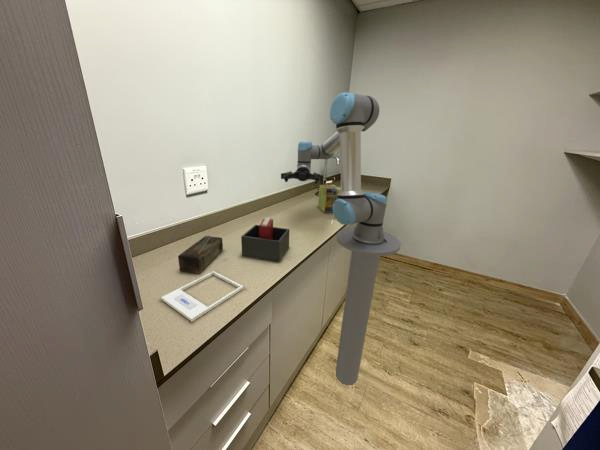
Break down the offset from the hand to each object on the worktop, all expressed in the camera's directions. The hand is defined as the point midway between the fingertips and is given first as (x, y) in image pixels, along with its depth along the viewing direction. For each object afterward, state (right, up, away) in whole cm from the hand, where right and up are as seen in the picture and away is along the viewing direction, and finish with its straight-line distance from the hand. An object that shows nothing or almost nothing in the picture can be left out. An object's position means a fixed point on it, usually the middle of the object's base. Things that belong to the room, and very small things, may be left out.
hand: (301, 179), depth 108 cm
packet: (-15, -31, -7) cm, 35 cm away
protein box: (+19, -10, +54) cm, 58 cm away
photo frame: (-30, -41, -35) cm, 62 cm away
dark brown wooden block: (-38, -34, -16) cm, 53 cm away
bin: (-15, -31, -7) cm, 35 cm away
